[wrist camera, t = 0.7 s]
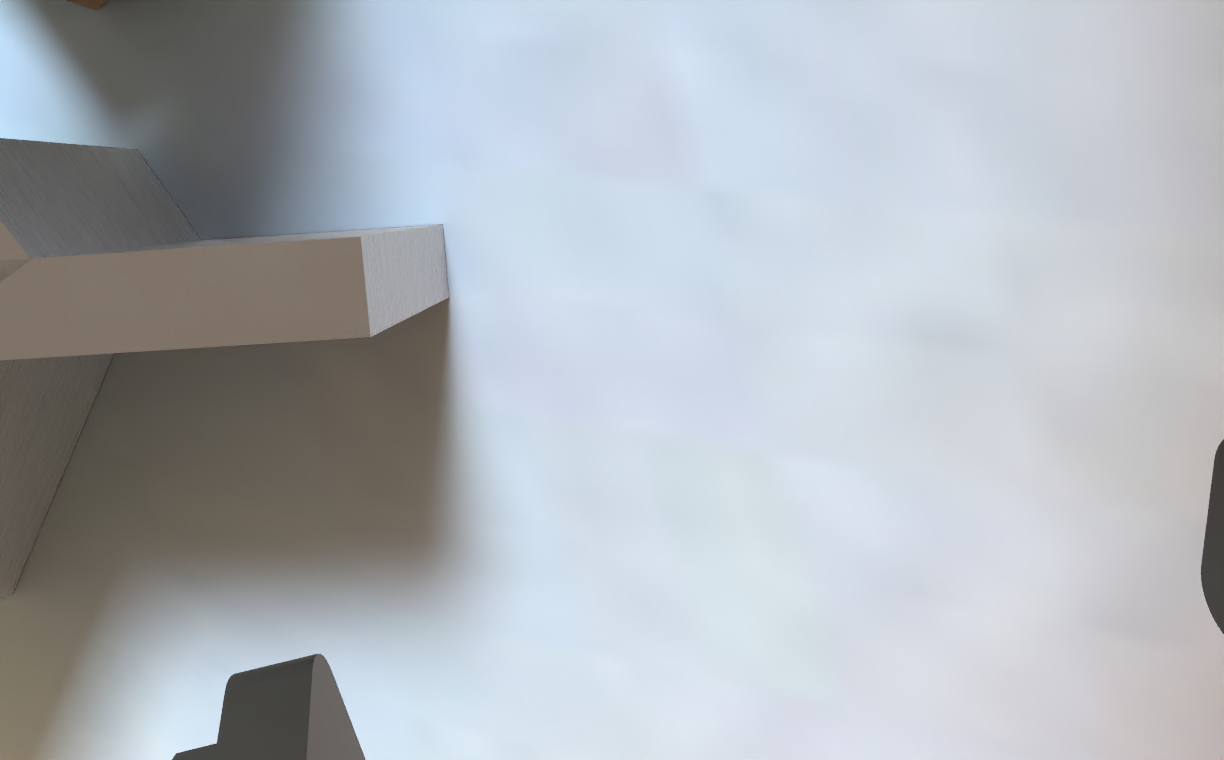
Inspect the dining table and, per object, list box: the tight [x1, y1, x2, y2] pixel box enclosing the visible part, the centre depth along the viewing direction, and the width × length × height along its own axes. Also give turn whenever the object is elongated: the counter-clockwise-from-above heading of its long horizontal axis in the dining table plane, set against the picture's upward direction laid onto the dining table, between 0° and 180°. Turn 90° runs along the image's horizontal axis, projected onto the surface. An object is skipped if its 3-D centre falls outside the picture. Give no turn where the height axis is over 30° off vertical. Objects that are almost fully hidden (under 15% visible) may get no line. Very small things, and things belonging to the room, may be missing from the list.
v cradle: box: [0, 138, 449, 601], centre depth 28 cm, size 8×18×9 cm, turn 124°
